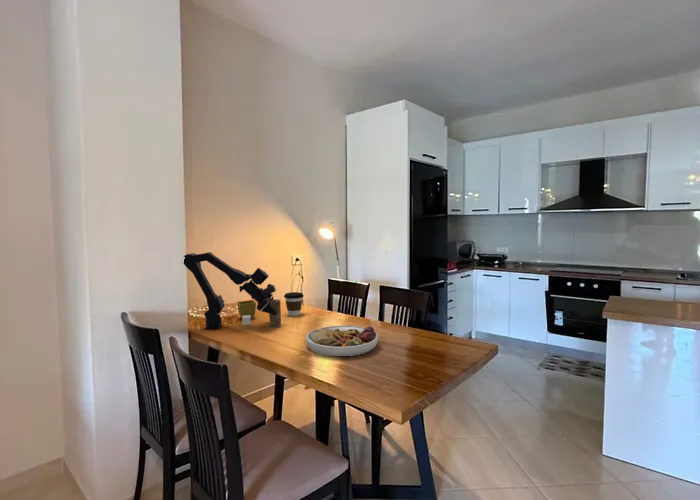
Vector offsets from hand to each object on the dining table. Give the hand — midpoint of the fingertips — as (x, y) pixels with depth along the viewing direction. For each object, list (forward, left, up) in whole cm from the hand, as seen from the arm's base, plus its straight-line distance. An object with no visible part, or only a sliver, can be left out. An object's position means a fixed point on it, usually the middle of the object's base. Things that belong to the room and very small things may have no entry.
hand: (277, 312), depth 189 cm
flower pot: (-21, +14, -7) cm, 26 cm away
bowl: (+36, -28, -7) cm, 46 cm away
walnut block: (-1, 0, -7) cm, 7 cm away
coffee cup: (+3, +23, -7) cm, 24 cm away
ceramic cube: (-17, +3, -7) cm, 19 cm away
